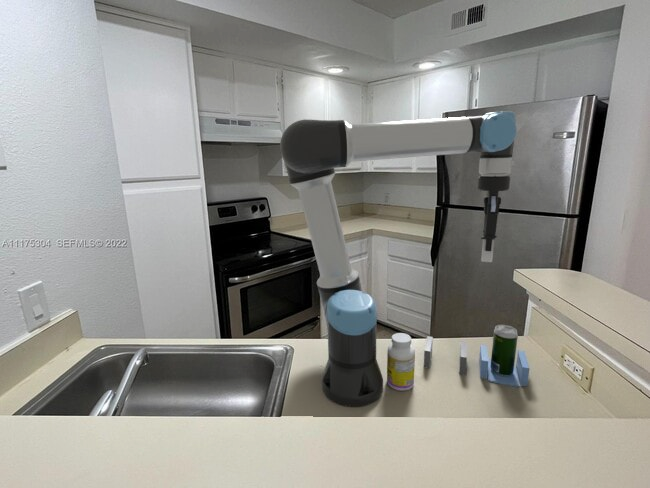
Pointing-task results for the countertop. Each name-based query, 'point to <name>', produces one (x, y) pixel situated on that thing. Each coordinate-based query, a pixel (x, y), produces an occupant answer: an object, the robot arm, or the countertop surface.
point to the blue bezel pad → (495, 378)
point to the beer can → (504, 350)
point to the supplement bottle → (400, 362)
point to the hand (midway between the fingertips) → (486, 261)
